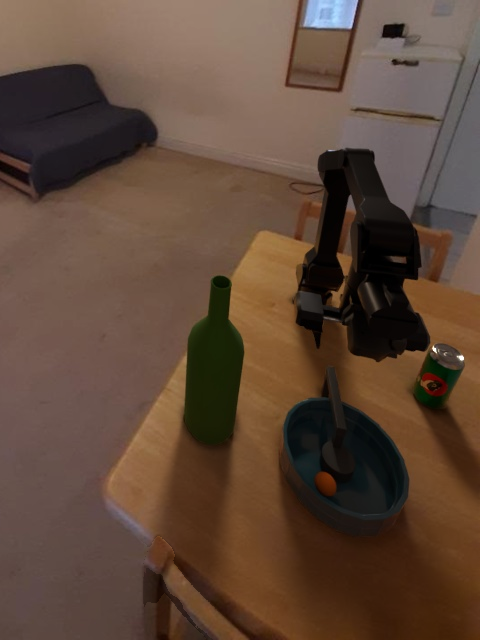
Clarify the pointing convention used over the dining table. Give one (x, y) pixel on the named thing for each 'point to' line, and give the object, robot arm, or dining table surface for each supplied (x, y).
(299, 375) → the dining table surface
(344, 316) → the robot arm
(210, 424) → the wine bottle
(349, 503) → the bowl
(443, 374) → the soda can
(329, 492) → the orange ball
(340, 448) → the ladle
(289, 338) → the dining table surface
